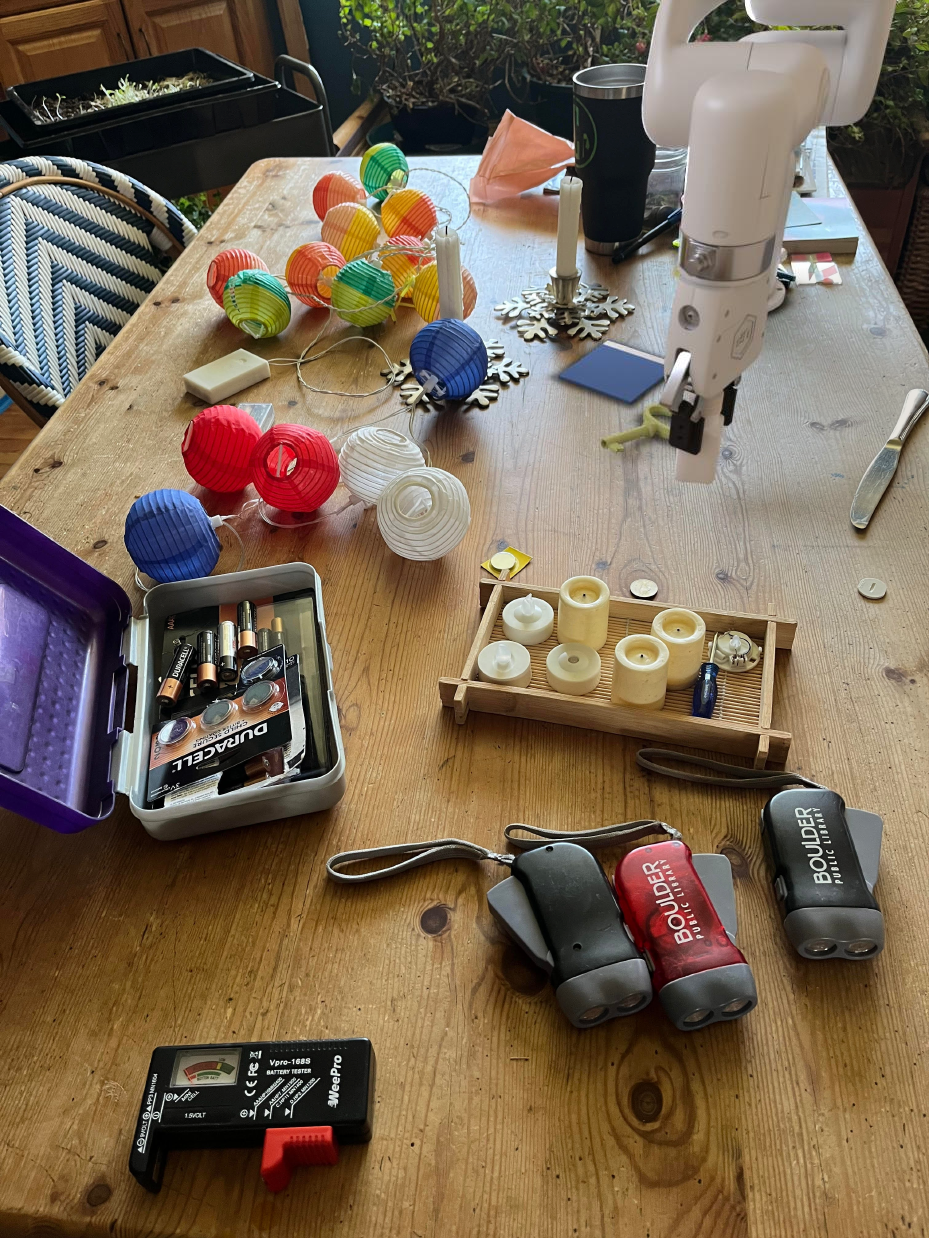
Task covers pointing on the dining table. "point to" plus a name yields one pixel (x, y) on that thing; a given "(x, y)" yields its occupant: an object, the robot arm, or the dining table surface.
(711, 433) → the pepper shaker
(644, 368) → the towel
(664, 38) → the robot arm
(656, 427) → the key
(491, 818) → the dining table surface
